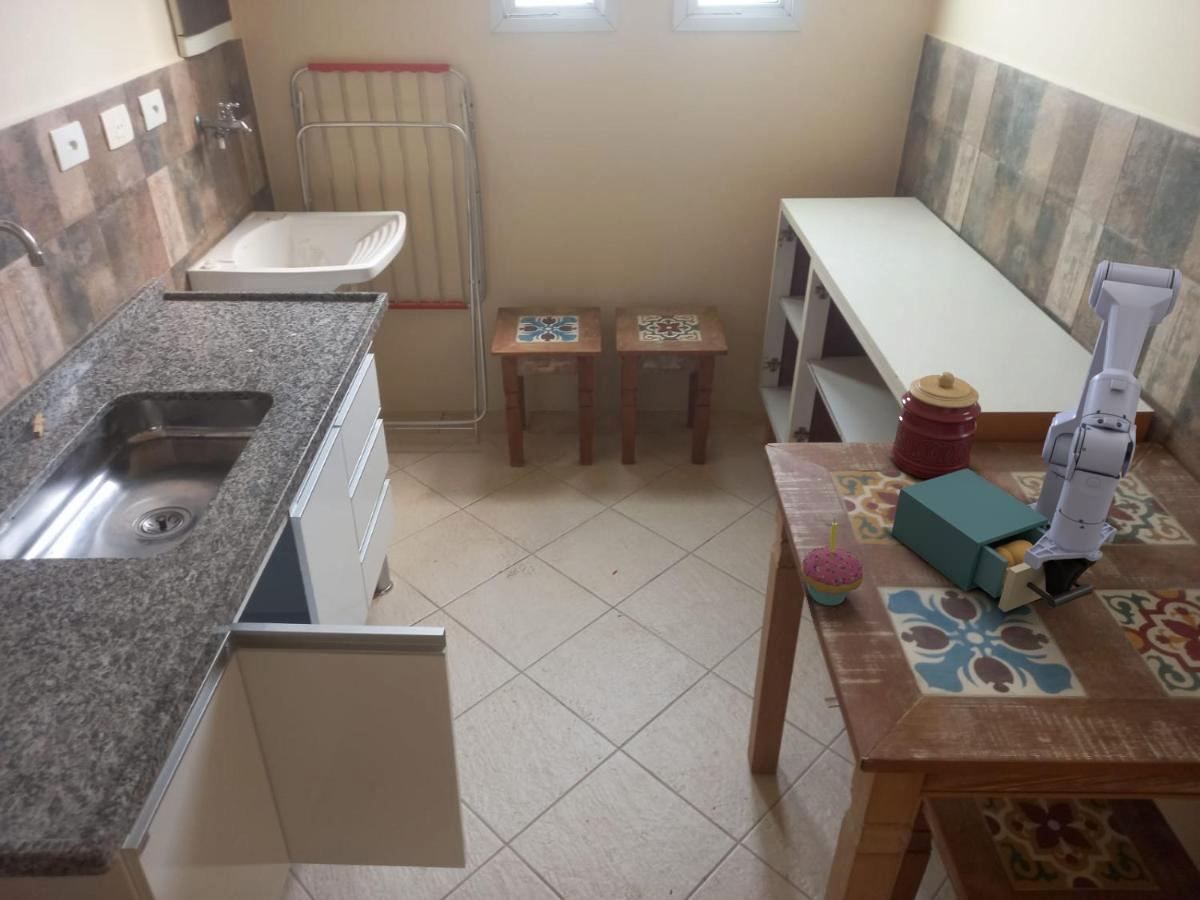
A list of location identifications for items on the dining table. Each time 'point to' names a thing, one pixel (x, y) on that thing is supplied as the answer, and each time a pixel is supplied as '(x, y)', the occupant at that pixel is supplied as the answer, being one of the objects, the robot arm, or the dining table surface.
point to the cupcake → (831, 572)
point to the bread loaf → (1013, 553)
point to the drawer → (1019, 576)
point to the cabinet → (958, 521)
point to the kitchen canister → (936, 426)
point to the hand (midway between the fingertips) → (1054, 594)
